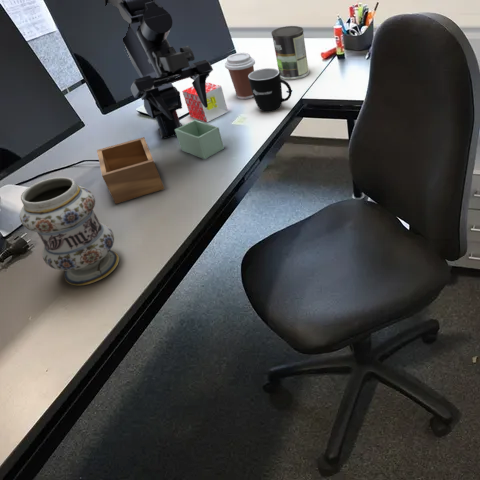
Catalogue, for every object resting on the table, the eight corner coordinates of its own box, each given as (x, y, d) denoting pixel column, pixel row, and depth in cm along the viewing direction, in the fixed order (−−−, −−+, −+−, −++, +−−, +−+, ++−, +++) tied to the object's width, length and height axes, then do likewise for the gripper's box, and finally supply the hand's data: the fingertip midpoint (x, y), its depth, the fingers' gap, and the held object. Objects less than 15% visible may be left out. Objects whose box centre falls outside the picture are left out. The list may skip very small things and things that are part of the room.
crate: (109, 176, 120) (96, 149, 115) (154, 163, 123) (144, 136, 118) (115, 204, 110) (101, 175, 105) (164, 188, 113) (153, 160, 109)
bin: (181, 150, 128) (174, 129, 124) (201, 139, 132) (195, 119, 128) (204, 159, 123) (197, 138, 119) (224, 148, 127) (218, 127, 123)
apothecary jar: (133, 245, 98) (95, 167, 86) (112, 287, 88) (66, 207, 77) (74, 250, 98) (29, 173, 86) (46, 292, 88) (-9, 213, 77)
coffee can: (284, 82, 159) (276, 37, 151) (275, 72, 167) (267, 30, 158) (313, 75, 162) (307, 31, 153) (303, 66, 170) (297, 23, 161)
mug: (250, 113, 142) (242, 79, 136) (262, 100, 149) (255, 67, 143) (289, 114, 140) (282, 80, 133) (299, 101, 146) (293, 68, 140)
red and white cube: (207, 122, 140) (199, 96, 135) (190, 116, 144) (182, 91, 139) (228, 111, 145) (221, 85, 140) (211, 106, 149) (204, 81, 144)
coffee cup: (267, 92, 154) (259, 54, 146) (244, 103, 149) (234, 63, 141) (250, 86, 159) (241, 49, 151) (227, 96, 154) (217, 58, 146)
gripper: (124, 45, 101) (160, 116, 105) (204, 26, 111) (234, 92, 115) (116, 63, 110) (149, 128, 114) (190, 44, 120) (219, 105, 124)
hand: (189, 113), depth 116 cm, fingers open, 9 cm apart
